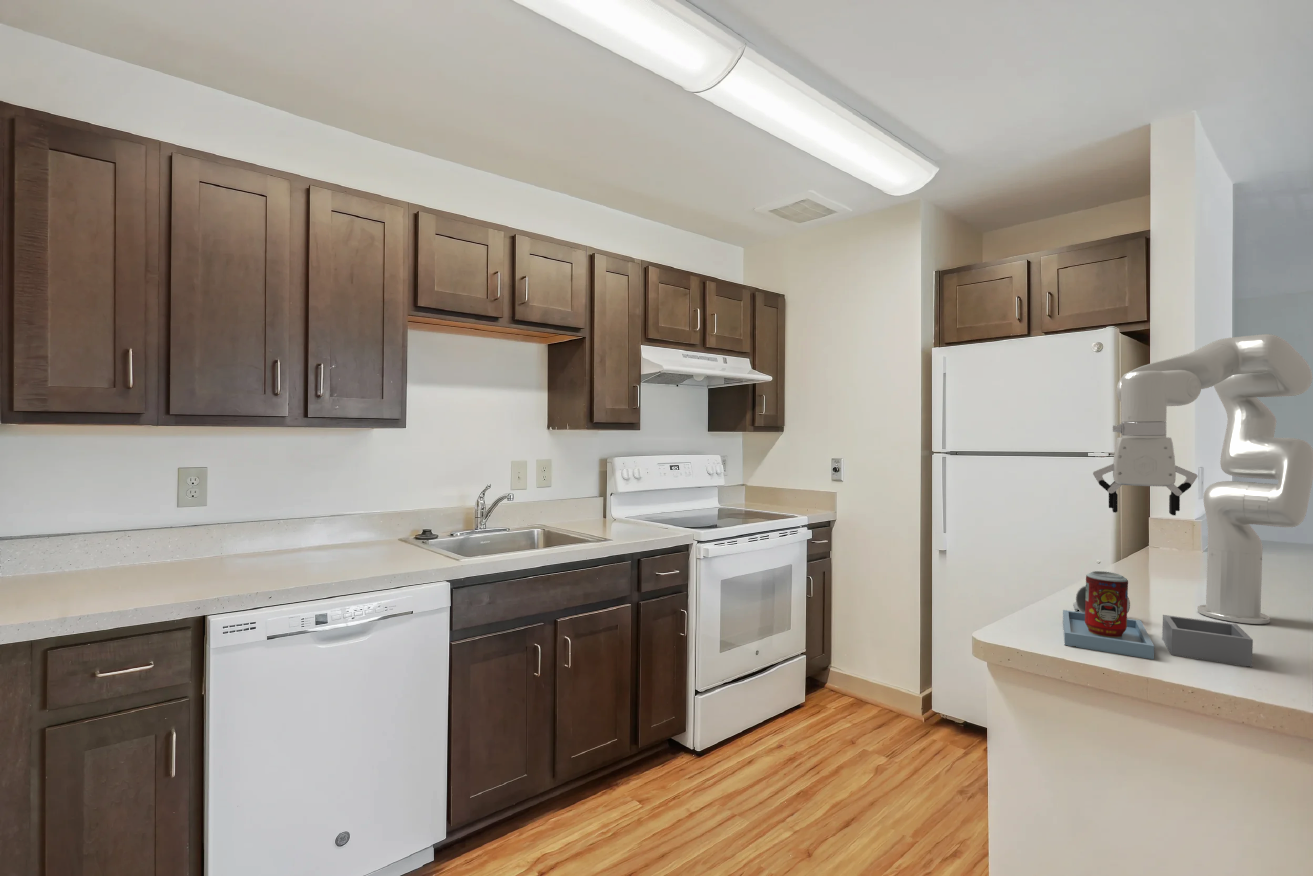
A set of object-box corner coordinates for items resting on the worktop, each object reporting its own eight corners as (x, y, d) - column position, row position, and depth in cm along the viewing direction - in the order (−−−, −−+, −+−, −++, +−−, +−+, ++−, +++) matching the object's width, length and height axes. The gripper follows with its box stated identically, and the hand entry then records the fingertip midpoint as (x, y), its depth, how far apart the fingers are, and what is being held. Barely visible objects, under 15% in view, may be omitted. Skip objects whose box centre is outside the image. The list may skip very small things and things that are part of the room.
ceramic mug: (1133, 621, 145) (1133, 587, 145) (1104, 623, 143) (1104, 589, 143) (1090, 610, 155) (1091, 577, 155) (1063, 611, 153) (1063, 579, 153)
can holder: (1162, 639, 133) (1162, 614, 132) (1236, 649, 127) (1236, 624, 127) (1171, 654, 123) (1172, 628, 123) (1252, 667, 117) (1252, 639, 117)
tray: (1062, 621, 144) (1063, 610, 144) (1140, 632, 137) (1140, 620, 137) (1064, 645, 127) (1064, 632, 127) (1153, 659, 120) (1154, 646, 120)
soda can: (1090, 636, 130) (1092, 575, 130) (1079, 626, 137) (1081, 568, 136) (1132, 641, 128) (1134, 578, 128) (1119, 630, 134) (1120, 571, 134)
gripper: (1093, 431, 135) (1093, 513, 136) (1200, 431, 126) (1200, 518, 126) (1092, 430, 142) (1092, 508, 142) (1193, 430, 132) (1193, 513, 133)
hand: (1143, 513), depth 134 cm, fingers open, 9 cm apart
